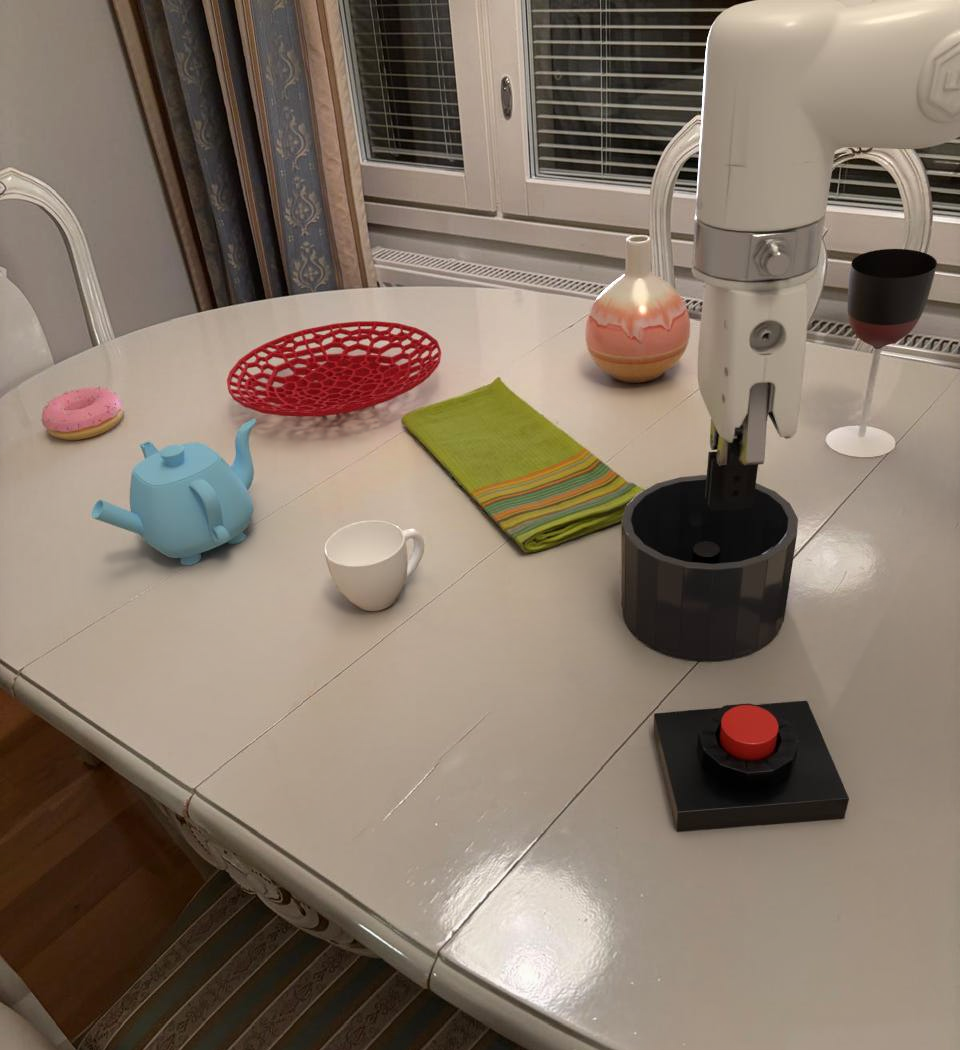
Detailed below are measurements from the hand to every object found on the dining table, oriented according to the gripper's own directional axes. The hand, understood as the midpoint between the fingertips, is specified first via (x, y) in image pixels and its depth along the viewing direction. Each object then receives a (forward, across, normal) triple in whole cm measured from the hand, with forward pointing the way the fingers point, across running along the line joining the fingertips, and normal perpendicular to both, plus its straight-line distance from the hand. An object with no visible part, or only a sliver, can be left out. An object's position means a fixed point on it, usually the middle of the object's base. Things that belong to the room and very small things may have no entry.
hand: (728, 503), depth 67 cm
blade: (+16, +9, -1) cm, 19 cm away
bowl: (+18, +62, +39) cm, 75 cm away
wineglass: (+17, +37, -24) cm, 47 cm away
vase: (+17, +61, -2) cm, 63 cm away
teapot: (+18, +29, +52) cm, 62 cm away
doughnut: (+18, +60, +75) cm, 98 cm away
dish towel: (+17, +38, +16) cm, 45 cm away
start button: (+13, -11, 0) cm, 18 cm away
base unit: (+17, -11, 0) cm, 20 cm away
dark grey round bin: (+17, +9, -1) cm, 19 cm away
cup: (+18, +15, +29) cm, 37 cm away
